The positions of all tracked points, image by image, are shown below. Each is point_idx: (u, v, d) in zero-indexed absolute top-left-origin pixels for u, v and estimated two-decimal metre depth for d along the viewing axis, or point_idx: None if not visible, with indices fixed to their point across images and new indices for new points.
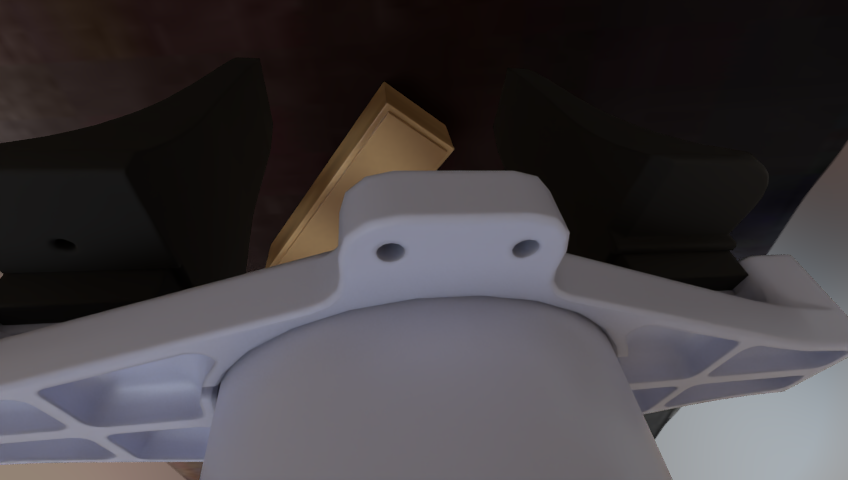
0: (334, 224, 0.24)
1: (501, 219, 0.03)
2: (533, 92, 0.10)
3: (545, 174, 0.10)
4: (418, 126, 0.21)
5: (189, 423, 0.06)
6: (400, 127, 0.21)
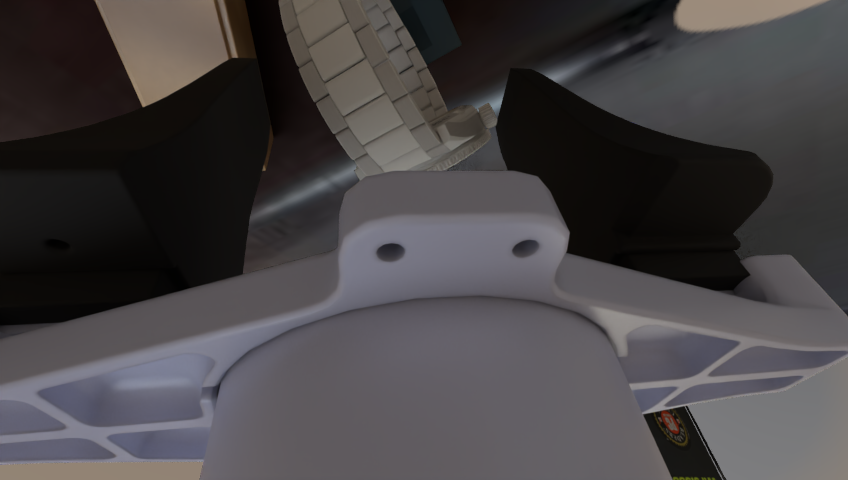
0: (156, 45, 0.16)
1: (501, 219, 0.03)
2: (536, 92, 0.10)
3: (548, 174, 0.10)
4: None
5: (189, 423, 0.06)
6: None
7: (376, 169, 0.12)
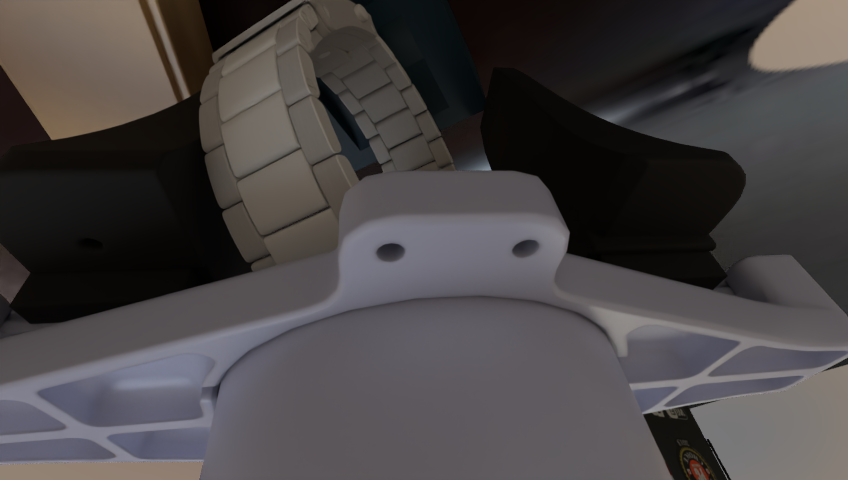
0: (85, 109, 0.12)
1: (501, 219, 0.03)
2: (517, 92, 0.10)
3: (528, 174, 0.10)
4: None
5: (189, 423, 0.06)
6: None
7: None
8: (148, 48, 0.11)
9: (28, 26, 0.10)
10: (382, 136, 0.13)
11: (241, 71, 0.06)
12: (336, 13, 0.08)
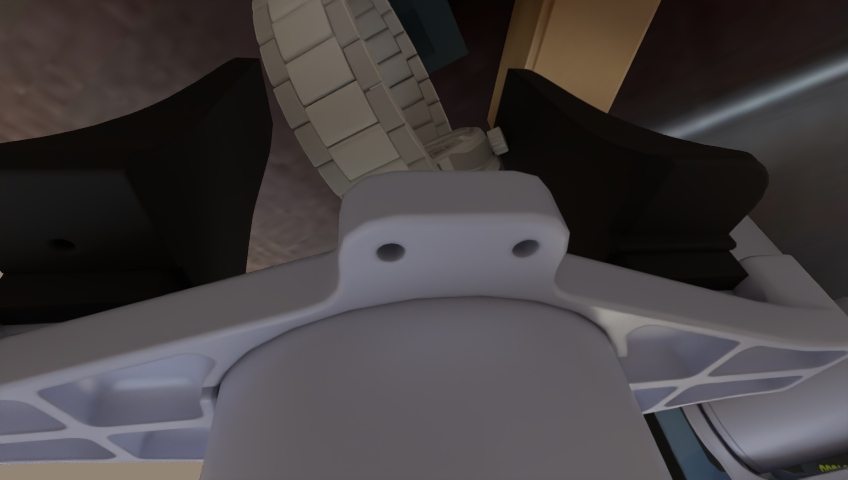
0: (585, 16, 0.15)
1: (501, 219, 0.03)
2: (533, 92, 0.10)
3: (545, 174, 0.10)
4: None
5: (189, 423, 0.06)
6: None
7: None
8: None
9: None
10: None
11: None
12: None
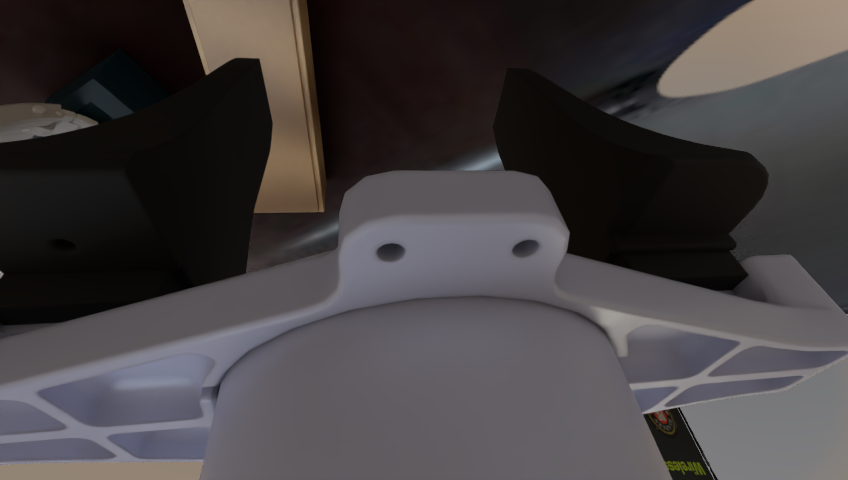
0: None
1: (501, 219, 0.03)
2: (533, 92, 0.10)
3: (545, 174, 0.10)
4: None
5: (189, 423, 0.06)
6: None
7: None
8: (297, 93, 0.19)
9: None
10: None
11: None
12: None
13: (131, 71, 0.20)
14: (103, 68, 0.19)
